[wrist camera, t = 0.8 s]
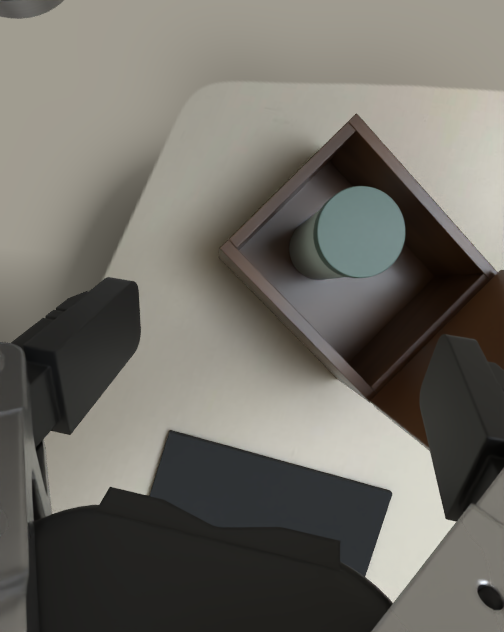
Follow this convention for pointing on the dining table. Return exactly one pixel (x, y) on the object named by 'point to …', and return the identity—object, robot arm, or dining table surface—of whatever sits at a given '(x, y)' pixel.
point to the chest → (359, 293)
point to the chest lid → (470, 322)
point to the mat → (270, 495)
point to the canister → (349, 236)
